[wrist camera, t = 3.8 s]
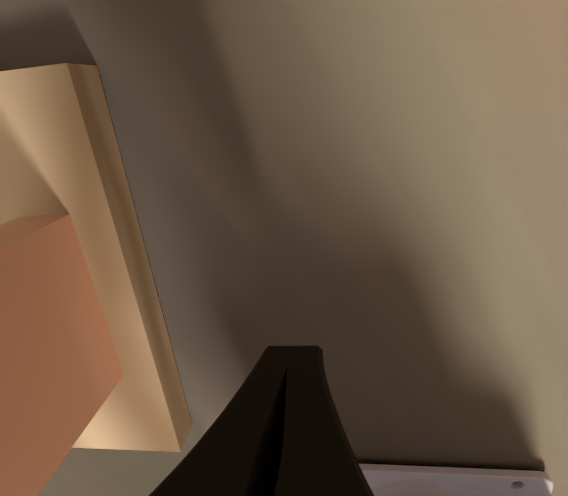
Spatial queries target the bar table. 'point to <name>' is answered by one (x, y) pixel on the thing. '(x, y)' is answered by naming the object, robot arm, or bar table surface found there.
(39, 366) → the peach rectangular block
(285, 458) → the robot arm
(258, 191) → the bar table surface
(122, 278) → the birch board
